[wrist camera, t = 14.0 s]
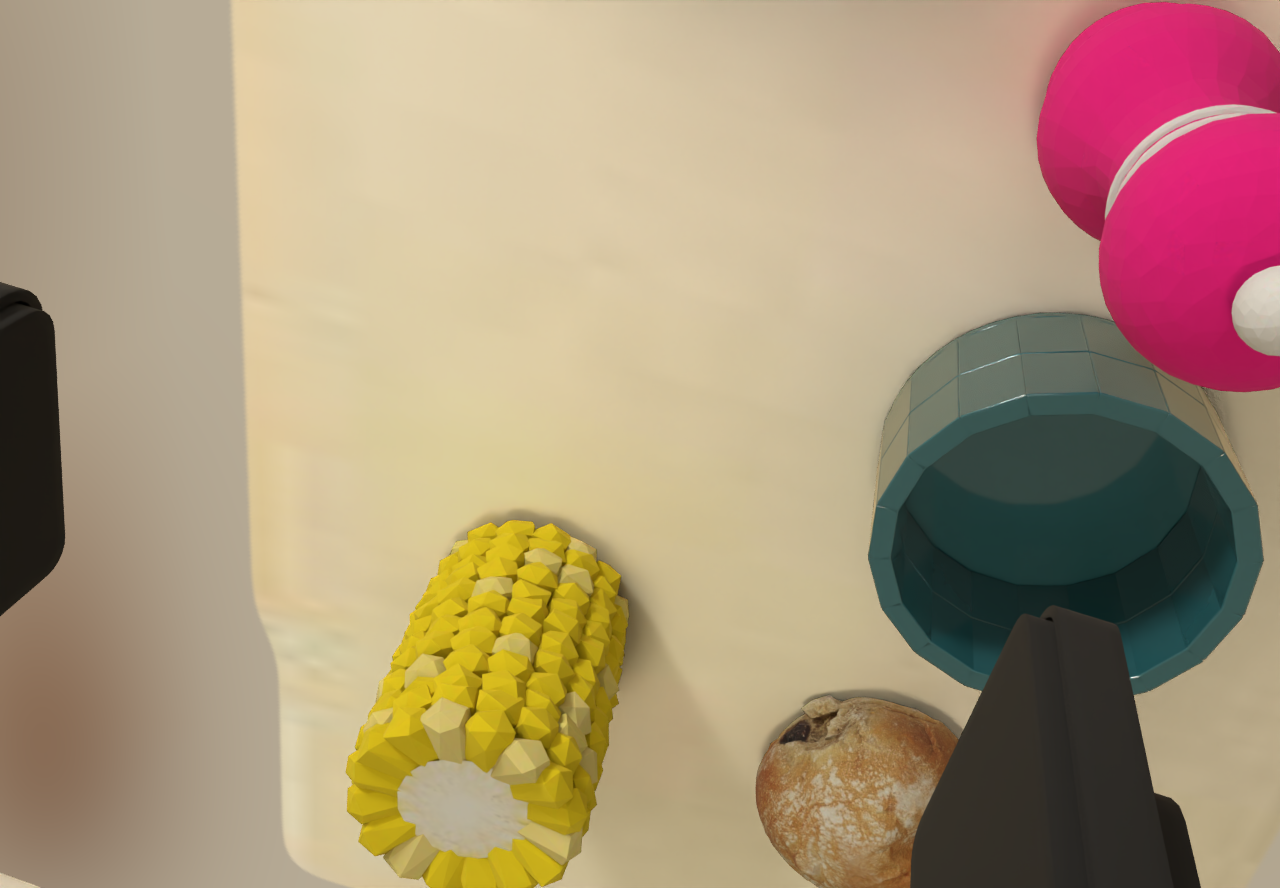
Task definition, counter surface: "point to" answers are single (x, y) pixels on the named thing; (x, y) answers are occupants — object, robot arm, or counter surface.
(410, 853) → the food
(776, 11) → the counter surface
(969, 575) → the pot
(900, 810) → the bread roll
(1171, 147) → the pepper mill
